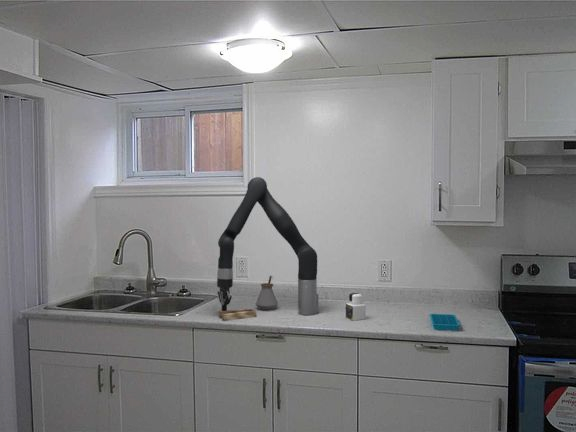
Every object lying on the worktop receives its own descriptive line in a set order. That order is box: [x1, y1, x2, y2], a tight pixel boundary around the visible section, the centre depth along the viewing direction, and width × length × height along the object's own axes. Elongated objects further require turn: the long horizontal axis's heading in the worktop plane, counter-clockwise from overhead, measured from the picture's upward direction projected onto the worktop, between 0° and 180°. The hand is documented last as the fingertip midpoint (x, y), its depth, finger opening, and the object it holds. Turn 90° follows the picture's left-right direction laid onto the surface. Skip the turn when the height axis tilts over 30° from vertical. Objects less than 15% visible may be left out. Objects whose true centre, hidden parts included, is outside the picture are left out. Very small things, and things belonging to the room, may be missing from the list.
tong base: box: [221, 308, 257, 322], centre depth 251 cm, size 18×3×3 cm, turn 119°
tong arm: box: [218, 308, 253, 319], centre depth 254 cm, size 17×2×3 cm, turn 109°
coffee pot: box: [255, 275, 279, 312], centre depth 275 cm, size 21×12×15 cm, turn 173°
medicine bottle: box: [345, 292, 367, 322], centre depth 249 cm, size 7×7×12 cm
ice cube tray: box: [429, 313, 461, 332], centre depth 236 cm, size 12×20×3 cm, turn 168°
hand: (224, 312), depth 255 cm, fingers closed
